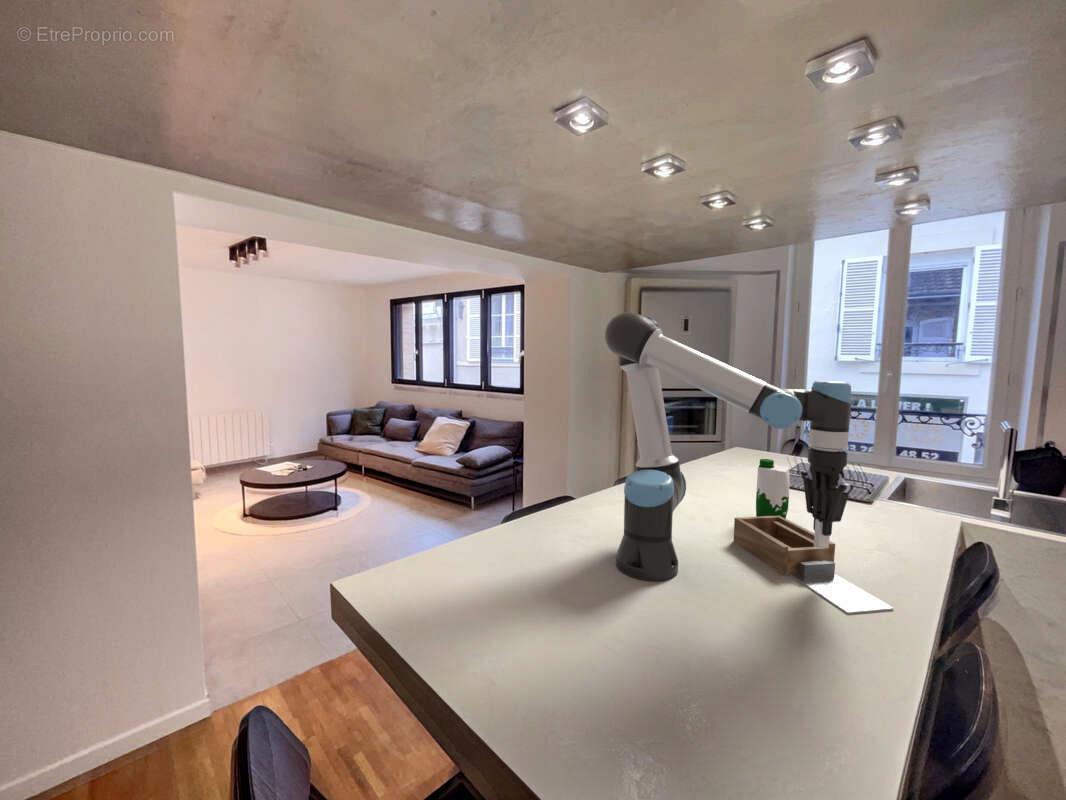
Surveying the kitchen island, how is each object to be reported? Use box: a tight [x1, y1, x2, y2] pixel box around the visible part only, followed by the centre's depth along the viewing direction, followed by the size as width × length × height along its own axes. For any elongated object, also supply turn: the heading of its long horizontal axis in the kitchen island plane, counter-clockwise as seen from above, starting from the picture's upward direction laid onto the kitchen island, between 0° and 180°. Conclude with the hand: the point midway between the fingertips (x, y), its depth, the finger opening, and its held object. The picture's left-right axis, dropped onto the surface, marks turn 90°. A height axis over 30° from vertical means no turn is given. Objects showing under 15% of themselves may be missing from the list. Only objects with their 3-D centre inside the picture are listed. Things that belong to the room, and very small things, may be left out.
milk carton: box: [755, 458, 791, 519], centre depth 142 cm, size 9×9×20 cm
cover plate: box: [788, 560, 894, 615], centre depth 100 cm, size 11×17×4 cm, turn 8°
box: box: [733, 516, 836, 576], centre depth 118 cm, size 14×20×7 cm
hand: (821, 546), depth 105 cm, fingers closed
